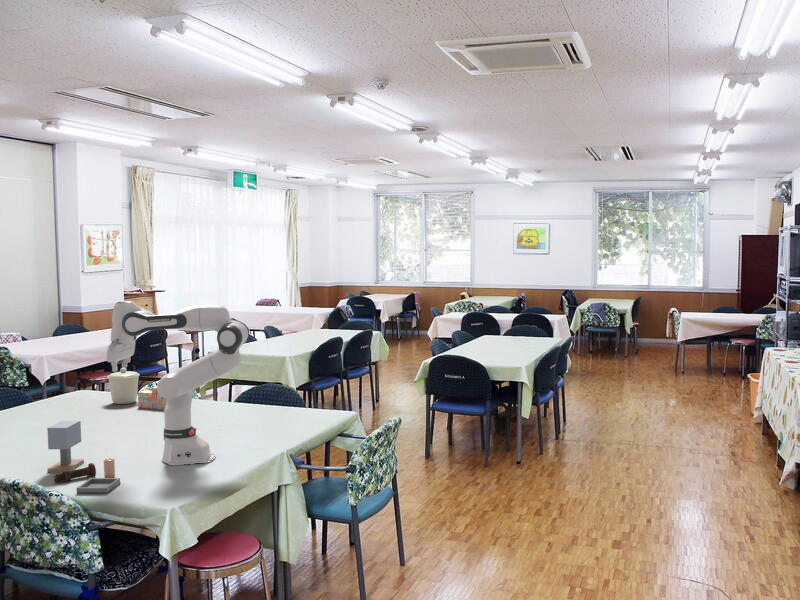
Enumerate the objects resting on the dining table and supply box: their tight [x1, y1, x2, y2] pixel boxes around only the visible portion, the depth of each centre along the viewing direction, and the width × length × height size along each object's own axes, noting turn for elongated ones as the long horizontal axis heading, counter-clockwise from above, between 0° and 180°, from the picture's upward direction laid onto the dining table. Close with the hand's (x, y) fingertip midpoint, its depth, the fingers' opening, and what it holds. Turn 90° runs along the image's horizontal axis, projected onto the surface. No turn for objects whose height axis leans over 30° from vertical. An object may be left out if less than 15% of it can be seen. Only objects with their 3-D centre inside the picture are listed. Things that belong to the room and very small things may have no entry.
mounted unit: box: [46, 420, 85, 473], centre depth 301 cm, size 10×13×18 cm
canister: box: [106, 367, 140, 405], centre depth 427 cm, size 18×18×21 cm
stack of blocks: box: [137, 385, 167, 410], centre depth 413 cm, size 21×6×12 cm, turn 77°
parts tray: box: [76, 477, 121, 495], centre depth 275 cm, size 12×12×2 cm
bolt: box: [53, 462, 97, 483], centre depth 287 cm, size 6×5×15 cm
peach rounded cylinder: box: [103, 458, 116, 478], centre depth 289 cm, size 4×4×7 cm
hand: (119, 369), depth 310 cm, fingers open, 8 cm apart
